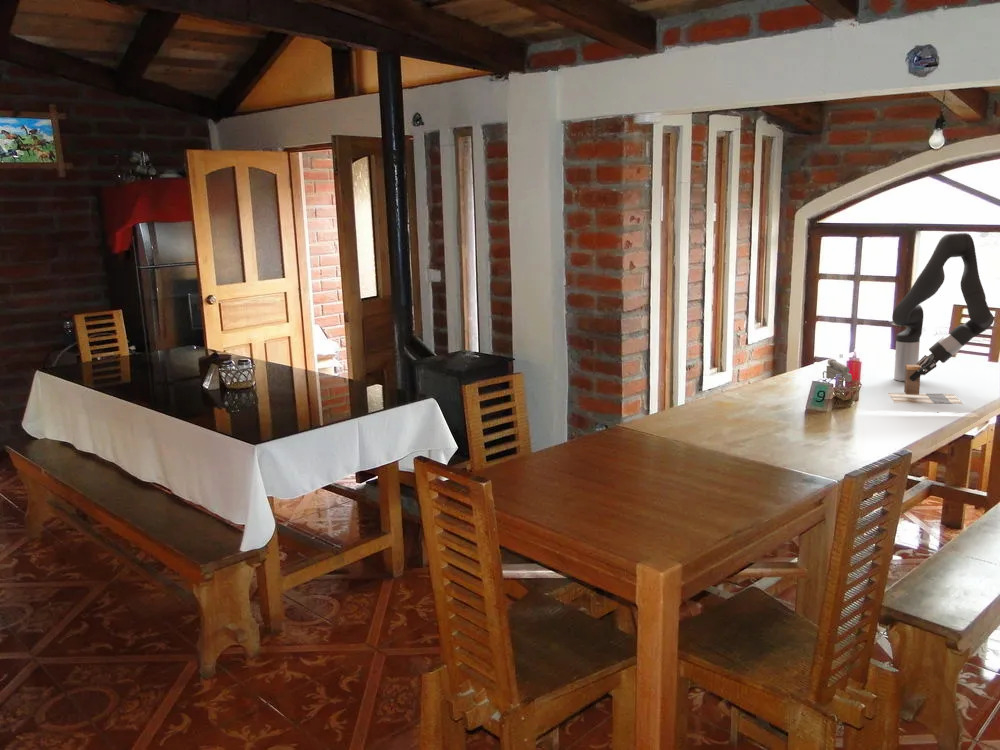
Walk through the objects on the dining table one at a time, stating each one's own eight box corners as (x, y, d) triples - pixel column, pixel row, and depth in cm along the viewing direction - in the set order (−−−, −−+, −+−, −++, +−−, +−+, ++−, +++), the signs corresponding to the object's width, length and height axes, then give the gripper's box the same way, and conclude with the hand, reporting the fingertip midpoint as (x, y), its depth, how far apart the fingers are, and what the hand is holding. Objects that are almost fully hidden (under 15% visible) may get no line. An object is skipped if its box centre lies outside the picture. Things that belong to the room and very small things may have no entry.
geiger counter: (855, 367, 329) (831, 355, 353) (839, 367, 329) (817, 356, 353) (853, 400, 332) (830, 387, 356) (837, 401, 332) (815, 387, 356)
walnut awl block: (904, 391, 328) (905, 364, 326) (917, 391, 327) (918, 364, 324) (906, 394, 324) (907, 367, 321) (919, 394, 322) (920, 367, 320)
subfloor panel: (887, 396, 335) (887, 392, 335) (953, 397, 328) (953, 393, 328) (894, 406, 320) (894, 402, 320) (963, 407, 313) (963, 403, 313)
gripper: (934, 338, 325) (899, 367, 331) (942, 344, 312) (905, 375, 318) (948, 351, 325) (913, 381, 331) (957, 358, 311) (920, 389, 317)
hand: (910, 378), depth 324 cm, fingers closed on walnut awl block, 4 cm apart
